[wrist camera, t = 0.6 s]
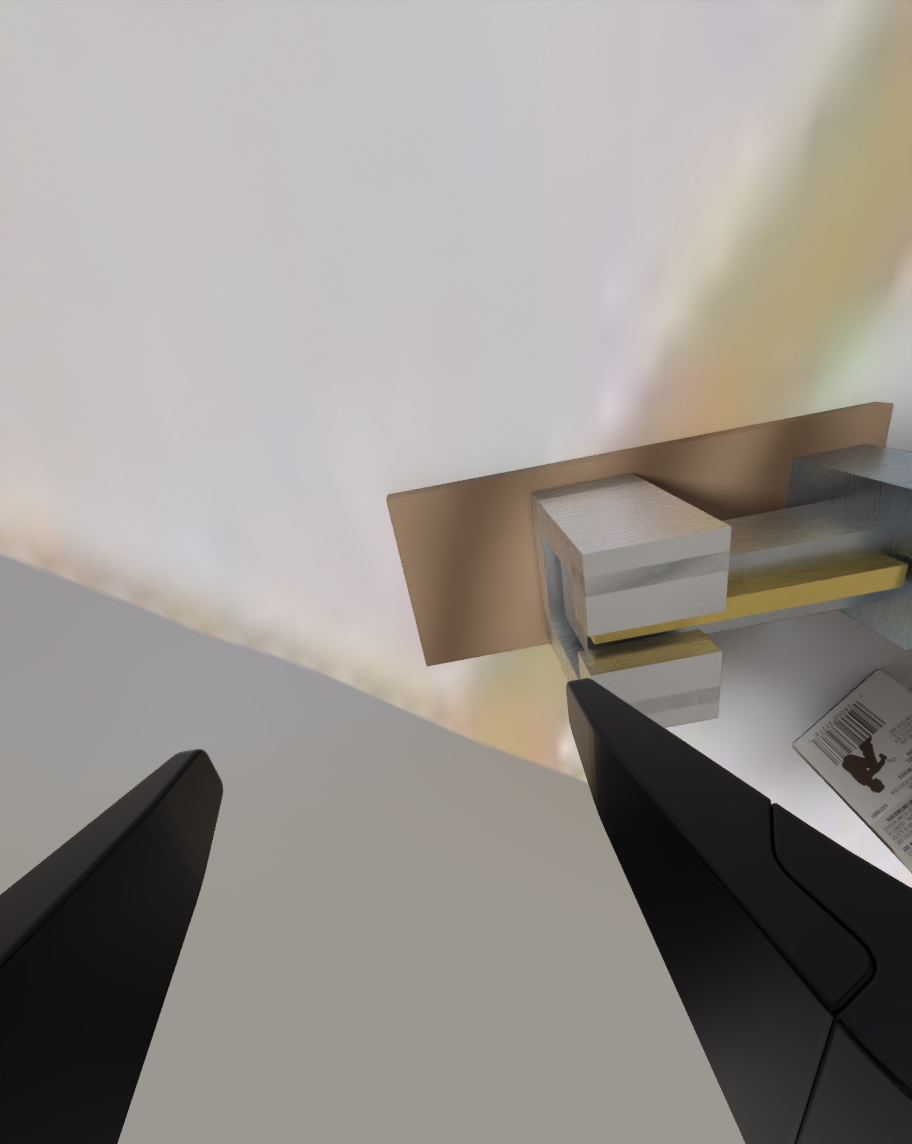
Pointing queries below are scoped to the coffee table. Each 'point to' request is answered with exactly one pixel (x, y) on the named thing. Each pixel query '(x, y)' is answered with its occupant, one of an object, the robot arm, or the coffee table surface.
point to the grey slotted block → (634, 590)
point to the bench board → (503, 501)
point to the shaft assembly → (813, 552)
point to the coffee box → (869, 758)
